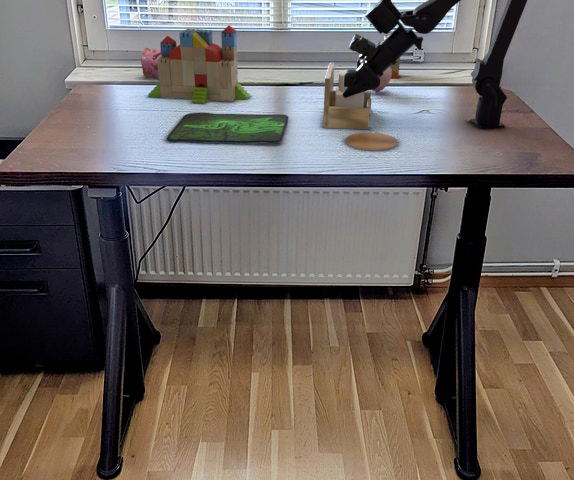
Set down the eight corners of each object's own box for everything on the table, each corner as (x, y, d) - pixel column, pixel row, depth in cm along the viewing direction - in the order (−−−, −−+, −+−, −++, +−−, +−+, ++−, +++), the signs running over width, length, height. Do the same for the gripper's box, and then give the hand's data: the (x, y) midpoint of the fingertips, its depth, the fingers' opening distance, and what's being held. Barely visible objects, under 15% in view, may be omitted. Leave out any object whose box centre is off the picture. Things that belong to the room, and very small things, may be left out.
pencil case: (212, 75, 204) (210, 46, 200) (207, 82, 196) (206, 52, 192) (146, 73, 205) (143, 45, 200) (139, 80, 197) (136, 51, 193)
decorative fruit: (365, 87, 192) (367, 53, 187) (391, 89, 190) (395, 55, 185) (358, 95, 185) (360, 59, 180) (386, 97, 183) (389, 61, 177)
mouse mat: (164, 141, 148) (163, 137, 147) (185, 114, 166) (185, 110, 166) (281, 145, 146) (281, 141, 145) (289, 117, 164) (289, 113, 164)
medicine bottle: (362, 115, 168) (365, 68, 161) (362, 123, 162) (365, 74, 155) (335, 114, 168) (337, 67, 162) (334, 122, 162) (336, 73, 156)
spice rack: (370, 110, 172) (374, 64, 165) (369, 129, 157) (373, 80, 151) (328, 108, 173) (330, 62, 167) (323, 127, 158) (324, 78, 152)
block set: (144, 100, 178) (136, 27, 168) (161, 88, 190) (155, 19, 180) (241, 106, 174) (239, 31, 164) (253, 93, 186) (251, 22, 176)
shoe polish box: (382, 77, 203) (386, 38, 197) (381, 74, 207) (384, 35, 201) (398, 78, 203) (402, 38, 197) (396, 74, 207) (400, 35, 201)
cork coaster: (405, 148, 145) (405, 146, 145) (356, 152, 143) (356, 150, 142) (385, 132, 155) (385, 130, 155) (338, 136, 153) (338, 134, 152)
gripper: (370, 16, 160) (325, 60, 167) (369, 29, 144) (319, 77, 151) (399, 50, 164) (353, 92, 170) (401, 66, 148) (350, 111, 155)
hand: (344, 92), depth 162 cm, fingers closed on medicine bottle, 7 cm apart
